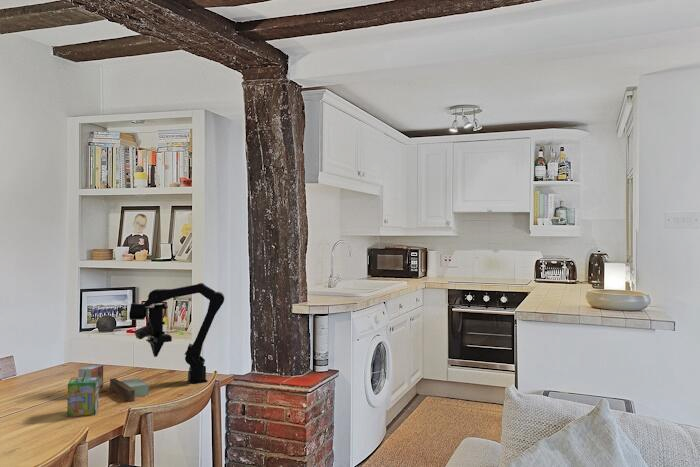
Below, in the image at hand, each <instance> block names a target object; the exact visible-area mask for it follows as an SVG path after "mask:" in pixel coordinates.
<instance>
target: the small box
mask: <svg viewBox="0 0 700 467" xmlns="http://www.w3.org/2000/svg"><path fill="white" fill-rule="evenodd" d="M87 369H88V370H87ZM86 370H87V374H86V377H98V376H99V393H98V394H100V393H102V392H104V365H102V364H90V365H87V366H84V367H80V368H78V377H84V374H85V371H86Z"/></svg>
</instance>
